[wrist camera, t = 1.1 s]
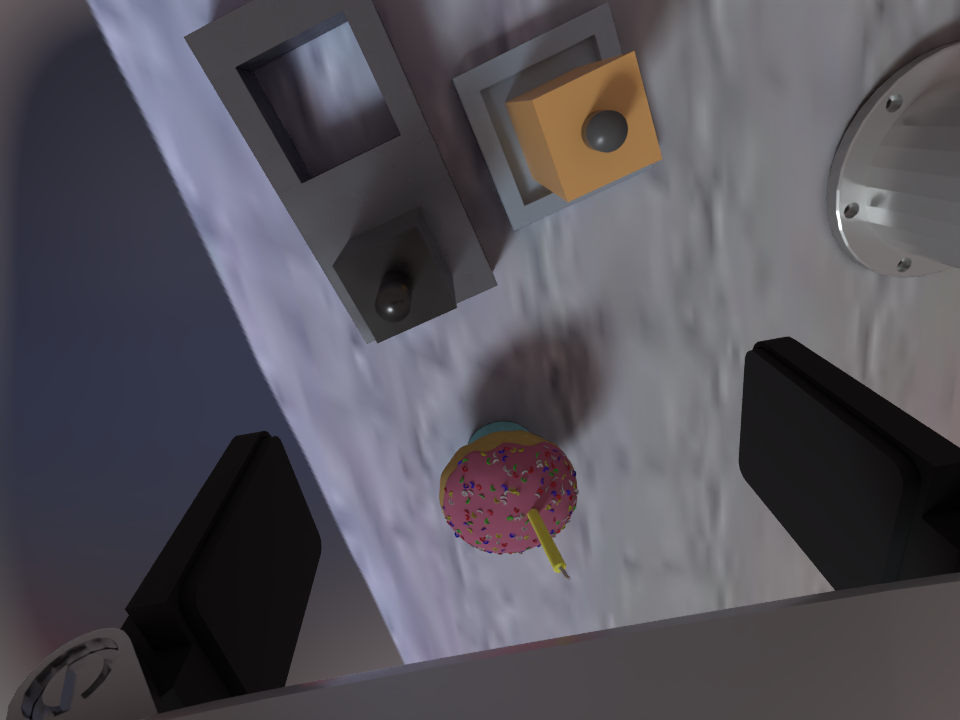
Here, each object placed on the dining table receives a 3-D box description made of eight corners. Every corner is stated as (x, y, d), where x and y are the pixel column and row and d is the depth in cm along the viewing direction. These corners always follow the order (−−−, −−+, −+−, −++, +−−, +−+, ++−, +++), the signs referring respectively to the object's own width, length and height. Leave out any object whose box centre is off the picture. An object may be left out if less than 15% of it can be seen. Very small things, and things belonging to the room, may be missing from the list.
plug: (578, 66, 26) (646, 47, 18) (602, 146, 28) (675, 161, 20) (504, 103, 26) (538, 99, 18) (532, 178, 28) (575, 207, 20)
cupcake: (528, 376, 34) (574, 500, 23) (580, 467, 38) (641, 611, 27) (415, 435, 35) (408, 579, 24) (476, 517, 39) (493, 675, 28)
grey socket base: (206, 43, 25) (79, 6, 16) (356, -37, 24) (312, -124, 15) (371, 327, 32) (348, 412, 23) (492, 272, 31) (518, 338, 22)
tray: (600, 5, 25) (608, 1, 24) (644, 165, 29) (652, 167, 28) (451, 80, 26) (452, 78, 25) (511, 226, 30) (514, 231, 29)
